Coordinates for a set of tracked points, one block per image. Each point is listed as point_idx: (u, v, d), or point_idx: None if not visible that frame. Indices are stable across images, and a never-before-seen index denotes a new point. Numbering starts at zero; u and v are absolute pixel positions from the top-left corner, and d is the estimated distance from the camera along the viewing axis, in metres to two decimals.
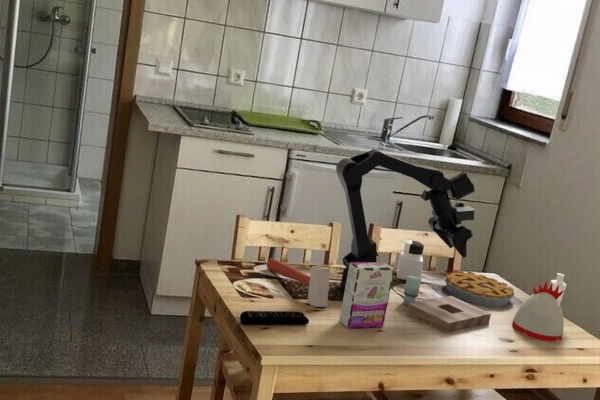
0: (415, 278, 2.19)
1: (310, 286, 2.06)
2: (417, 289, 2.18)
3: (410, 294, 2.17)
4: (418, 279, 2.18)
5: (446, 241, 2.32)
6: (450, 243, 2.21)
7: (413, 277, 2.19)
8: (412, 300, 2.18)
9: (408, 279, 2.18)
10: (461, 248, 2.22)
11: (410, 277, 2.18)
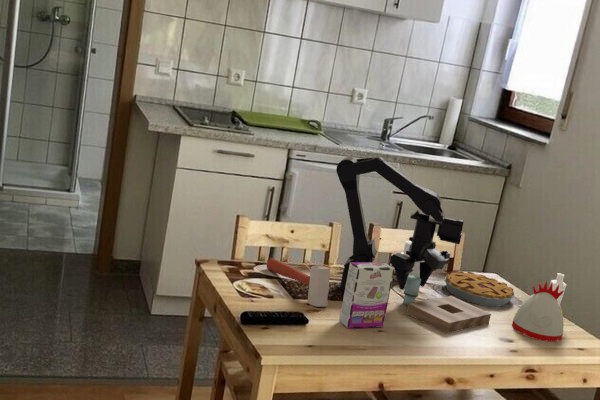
0: (415, 278, 2.19)
1: (310, 286, 2.06)
2: (417, 289, 2.18)
3: (410, 294, 2.17)
4: (418, 279, 2.18)
5: (421, 276, 2.22)
6: None
7: (413, 277, 2.19)
8: (412, 300, 2.18)
9: (408, 279, 2.18)
10: (400, 277, 2.15)
11: (410, 277, 2.18)
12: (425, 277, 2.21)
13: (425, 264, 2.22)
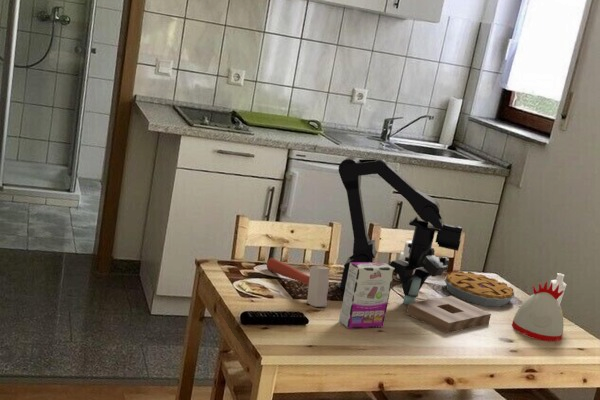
0: (415, 278, 2.19)
1: (309, 286, 2.06)
2: (417, 289, 2.18)
3: (410, 294, 2.17)
4: (418, 279, 2.18)
5: None
6: None
7: None
8: (412, 300, 2.18)
9: None
10: (405, 283, 2.17)
11: None
12: None
13: (419, 271, 2.20)
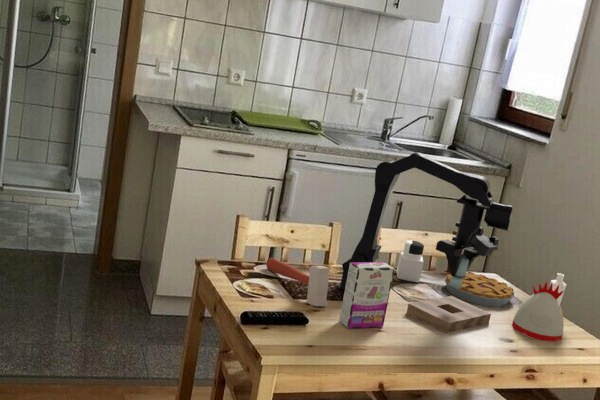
0: (463, 258, 2.10)
1: (309, 286, 2.06)
2: (465, 270, 2.09)
3: (458, 275, 2.09)
4: (466, 260, 2.09)
5: None
6: None
7: None
8: (460, 281, 2.10)
9: None
10: (452, 263, 2.08)
11: None
12: None
13: (466, 252, 2.12)
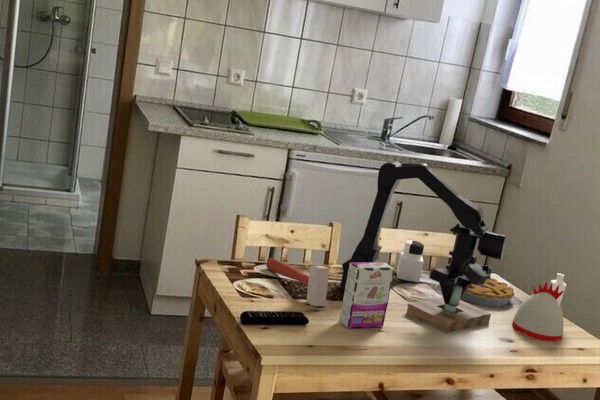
0: None
1: (309, 285, 2.06)
2: (458, 298, 2.11)
3: (451, 303, 2.11)
4: (459, 287, 2.11)
5: None
6: None
7: None
8: (453, 309, 2.12)
9: None
10: (445, 291, 2.10)
11: None
12: None
13: (460, 279, 2.14)
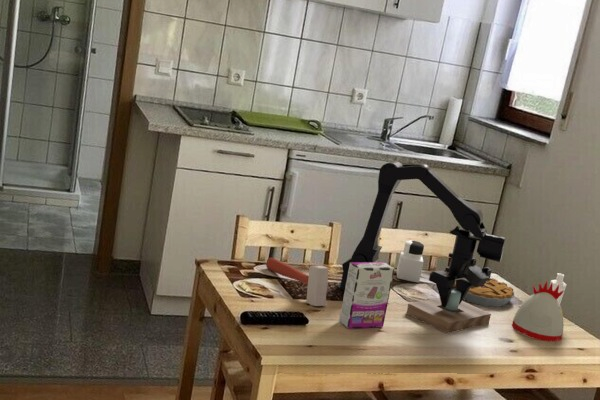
0: (455, 291, 2.12)
1: (309, 285, 2.06)
2: (457, 303, 2.11)
3: (450, 309, 2.11)
4: (458, 293, 2.11)
5: None
6: None
7: (453, 291, 2.12)
8: None
9: None
10: (443, 294, 2.09)
11: None
12: (462, 294, 2.14)
13: (462, 281, 2.15)
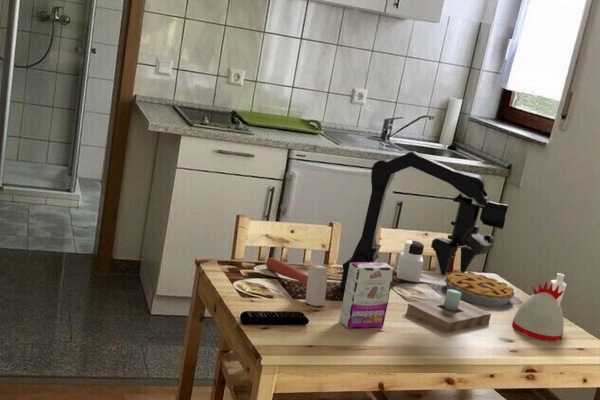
0: (455, 291, 2.12)
1: (308, 285, 2.06)
2: (457, 303, 2.11)
3: (450, 309, 2.11)
4: (458, 293, 2.11)
5: (462, 262, 2.16)
6: None
7: (453, 291, 2.13)
8: None
9: (448, 293, 2.11)
10: (442, 262, 2.08)
11: (450, 291, 2.12)
12: (466, 263, 2.15)
13: (466, 249, 2.15)
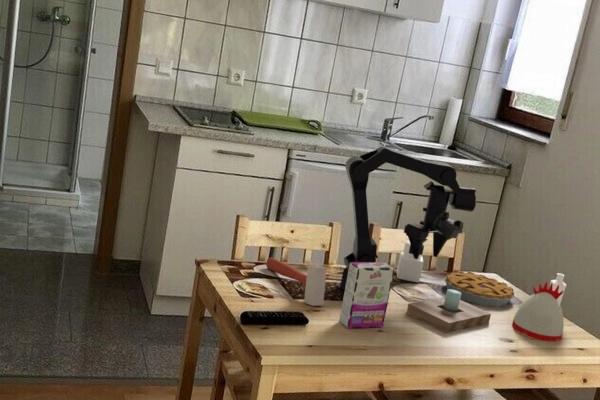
0: (455, 291, 2.12)
1: (307, 285, 2.06)
2: (457, 303, 2.11)
3: (450, 309, 2.11)
4: (458, 293, 2.11)
5: (434, 247, 2.26)
6: None
7: (453, 291, 2.12)
8: None
9: (448, 293, 2.11)
10: (415, 246, 2.18)
11: (450, 291, 2.12)
12: (438, 247, 2.25)
13: (438, 235, 2.25)
